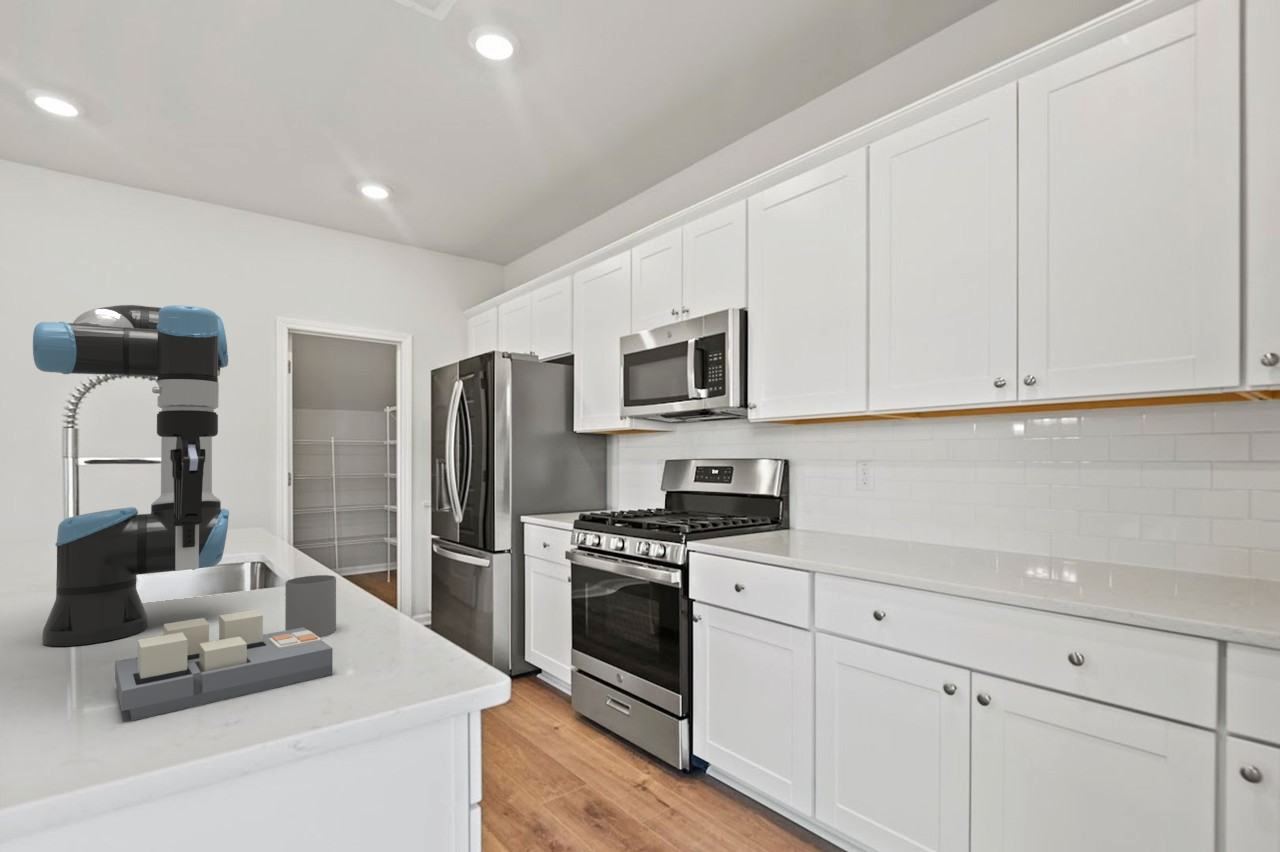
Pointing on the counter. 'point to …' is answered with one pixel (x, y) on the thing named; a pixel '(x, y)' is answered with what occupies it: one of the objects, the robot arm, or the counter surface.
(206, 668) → the button
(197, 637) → the button
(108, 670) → the counter surface
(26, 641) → the counter surface
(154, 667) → the button
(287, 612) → the cup
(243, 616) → the button
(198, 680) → the board
